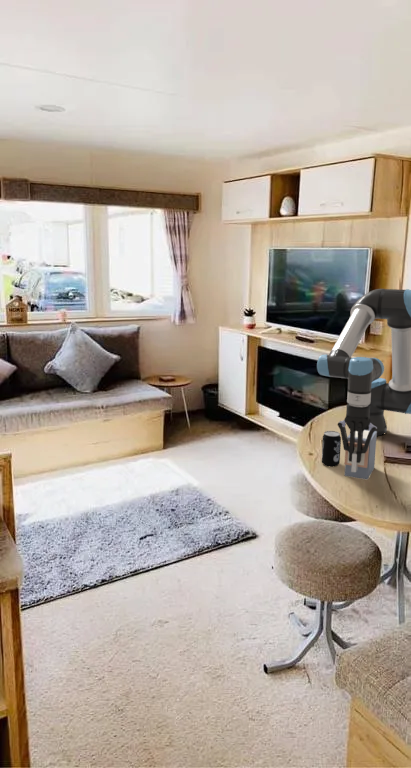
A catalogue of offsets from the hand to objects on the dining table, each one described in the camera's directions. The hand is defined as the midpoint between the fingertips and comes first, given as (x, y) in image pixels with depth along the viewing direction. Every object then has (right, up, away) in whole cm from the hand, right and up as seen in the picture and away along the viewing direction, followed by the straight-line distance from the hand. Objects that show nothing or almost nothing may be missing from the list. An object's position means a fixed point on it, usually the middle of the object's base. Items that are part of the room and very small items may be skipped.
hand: (354, 470), depth 190 cm
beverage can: (-4, 0, +17) cm, 17 cm away
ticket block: (+4, -2, +9) cm, 10 cm away
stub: (+1, +6, +1) cm, 6 cm away
